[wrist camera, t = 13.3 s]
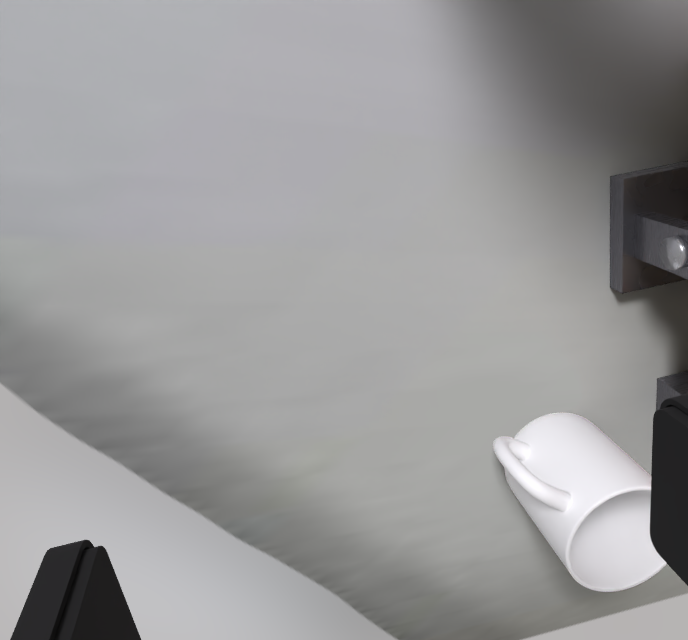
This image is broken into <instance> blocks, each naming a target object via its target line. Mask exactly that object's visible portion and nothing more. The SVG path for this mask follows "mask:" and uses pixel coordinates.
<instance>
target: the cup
mask: <svg viewBox="0 0 688 640" xmlns="http://www.w3.org/2000/svg"><path fill="white" fill-rule="evenodd" d="M493 450H494V452H495V454H496V456H497V458H498V459H499V461H500V462H501V464H502V465H503V466H504V469H505V476H506V480H507V482H508V484H509V486H510V488H511V490H512V492H513V493H514V495H515V496H516V498H517V499H518V500H519V502H520V503H521V505H522V506H523V507H524V509H525V510H526V512H527V513H528V515H529V516H530V517H531V519H532V520H533V522H534V523H535V525H536V526H537V527H538V529H539V530H540V532H541V533H542V534H543V536H544V537H545V539H546V540H547V542H548V543H549V544H550V546H551V547H552V549H553V550H554V551H555V553H556V554H557V556H558V557H559V559H560V560H561V561H562V563H563V564H564V566H565V567H566V568H567V570H568V571H569V573H570V574H571V576H572V577H573V578H574V579H575V580H576V581H577V582H578V583H579V584H581V585H582V586H584V587H586V588H588V589H591V590H595V591H600V592H615V591H621V590H625V589H629V588H632V587H634V586H637V585H639V584H641V583H643V582H645V581H646V580H648V579H650V578H651V577H653V576H654V575H655V574H657V573H658V572H659V571H660V570H661V569H662V568H663V567H664V566H665V565H666V564H667V563H666V562H665V561H664V560H663V558H662V557H661V556H660V555H659V554H658V553H657V551H656V549H655V548H654V546H653V544H652V541H651V537H650V505H651V475H650V474H649V473H648V472H646V471H645V470H644V469H643V468H642V467H641V466H640V465H639V464H638V463H637V462H635V461H634V460H633V459H632V458H631V457H630V456H629V455H628V454H627V453H626V452H624V451H623V450H622V449H621V448H620V447H619V446H618V445H617V444H616V443H615V442H613V441H612V440H611V439H610V438H609V437H608V436H607V435H606V434H605V433H604V432H602V431H601V430H600V429H599V428H598V427H597V426H596V425H594V424H593V423H592V422H591V421H589V420H587V419H586V418H584V417H582V416H580V415H577V414H572V413H565V412H559V413H551V414H547V415H544V416H541V417H539V418H537V419H535V420H533V421H531V422H530V423H528V424H527V425H526V426H524V427H523V428H522V429H521V430H520V431H519V432H518V433H517V434H516V436H515V437H514V438H512V437H508V436H500V437H498V438H496V439H495V440H494V442H493Z"/></svg>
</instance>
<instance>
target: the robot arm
mask: <svg viewBox="0 0 688 640" xmlns="http://www.w3.org/2000/svg"><path fill="white" fill-rule="evenodd" d="M650 537H651V541H652V544H653V546H654V548H655V549H656V551H657V553H658V554H659V555H660V556H661V557H662V558H663V560H664V561H665V562H666V563H667V564H668V565H669V566H670V567H671V568H672V569H673V570H674V571H675V572H676V574H677V575H678V576H679V577H680V578H681V579H682V580H683V581H684V582H685V583H686V584H687V585H688V394H684V395H680V396H676V397H672V398H668V399H666V400H664V401H663V402H662V404H661V406H660V409H659V410H657V411H656V412H655V414H654V418H653V445H652V475H651V505H650ZM10 640H141V638H140V635H139V633H138V631H137V628H136V625H135V623H134V620H133V618H132V615H131V612H130V610H129V607H128V605H127V602H126V600H125V597H124V595H123V592H122V590H121V587H120V584H119V582H118V579H117V577H116V574H115V572H114V569H113V567H112V564H111V561H110V559H109V556H108V554H107V552H106V549H105V548H104V547H103V546H98V547H94V546H93V544H92V543H91V542H90V541H89V540H83V541H78V542H74V543H70V544H66V545H62V546H58V547H54V548H50V549H49V550H47V552H46V554H45V556H44V558H43V561H42V563H41V566H40V568H39V570H38V573H37V575H36V578H35V580H34V583H33V585H32V588H31V590H30V593H29V595H28V598H27V600H26V602H25V605H24V607H23V610H22V612H21V615H20V617H19V620H18V622H17V625H16V627H15V630H14V632H13V635H12V637H11V639H10Z"/></svg>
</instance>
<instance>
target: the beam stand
mask: <svg viewBox="0 0 688 640" xmlns="http://www.w3.org/2000/svg"><path fill="white" fill-rule="evenodd" d="M686 279H688V161H685V162H680V163H675V164H670V165H665V166H660V167H655V168H650V169H645V170H640V171H635V172H630V173H625V174H620V175H615V176H610V287H611V288H613V289H615V290H617V291H619V292H620V293H627V292H631V291H636V290H640V289H645V288H649V287H654V286H658V285H663V284H668V283H672V282H677V281H681V280H686ZM684 394H688V371H686V372H682V373H678V374H674V375H670V376H665V377H661V378H657V403H656V411H657V410H659V409H660V406H661V404H662V402H663V401H664V400H666V399H668V398H672V397H676V396H680V395H684Z"/></svg>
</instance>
